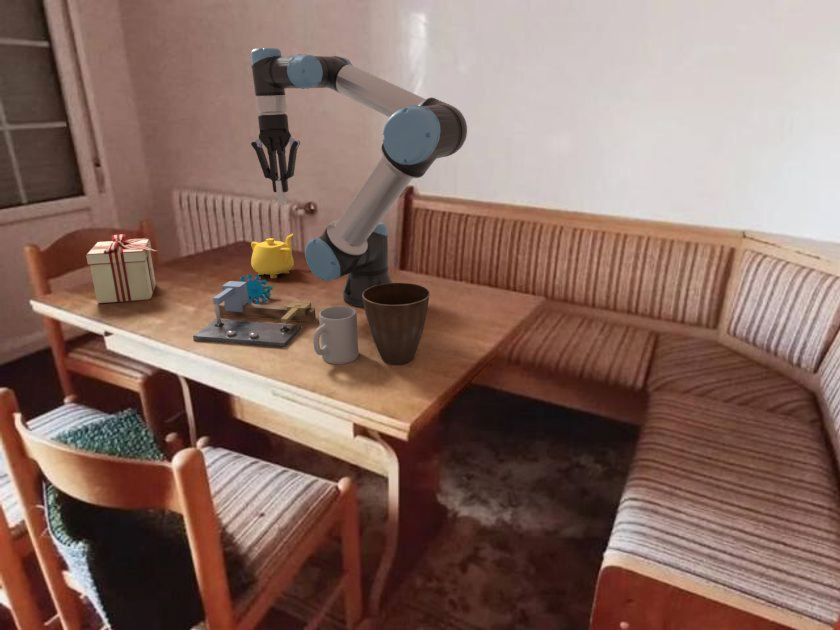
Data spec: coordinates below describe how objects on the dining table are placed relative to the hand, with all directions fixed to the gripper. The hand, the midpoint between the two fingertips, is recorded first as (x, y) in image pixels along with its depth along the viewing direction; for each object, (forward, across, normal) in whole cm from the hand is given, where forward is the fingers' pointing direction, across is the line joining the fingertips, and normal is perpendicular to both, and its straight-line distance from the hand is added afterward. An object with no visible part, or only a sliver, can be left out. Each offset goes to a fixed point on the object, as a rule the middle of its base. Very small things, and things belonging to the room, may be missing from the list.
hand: (282, 204), depth 160 cm
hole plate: (+28, +3, +25) cm, 38 cm away
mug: (+29, -22, +36) cm, 52 cm away
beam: (+28, +3, +13) cm, 31 cm away
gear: (+28, +10, +2) cm, 30 cm away
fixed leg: (+27, -6, +18) cm, 33 cm away
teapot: (+28, +13, -26) cm, 40 cm away
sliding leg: (+26, +12, +17) cm, 33 cm away
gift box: (+27, +50, -1) cm, 57 cm away
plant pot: (+29, -36, +35) cm, 58 cm away
